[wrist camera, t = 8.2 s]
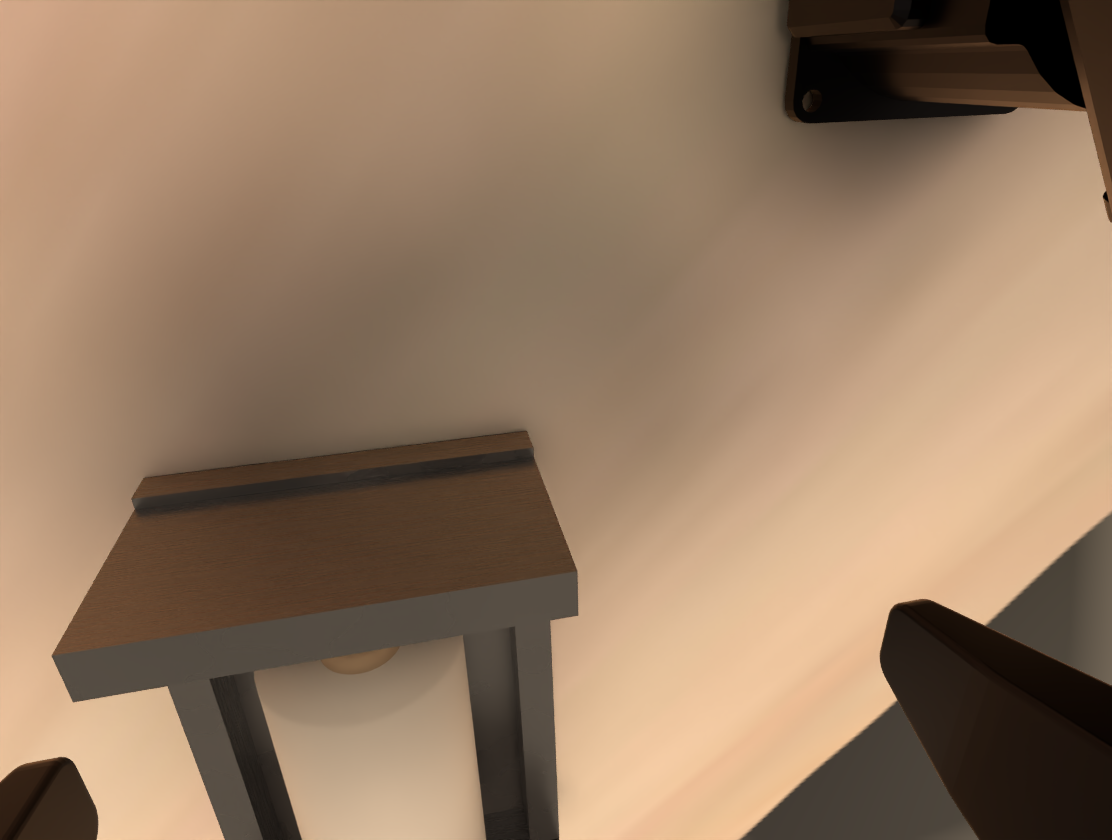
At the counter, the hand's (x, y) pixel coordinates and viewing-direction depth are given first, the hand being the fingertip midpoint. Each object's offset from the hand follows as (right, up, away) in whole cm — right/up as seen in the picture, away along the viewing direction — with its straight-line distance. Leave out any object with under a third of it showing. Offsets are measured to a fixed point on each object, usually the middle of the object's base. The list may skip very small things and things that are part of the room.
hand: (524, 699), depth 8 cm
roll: (-5, -5, +14) cm, 16 cm away
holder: (-5, -5, +15) cm, 17 cm away
